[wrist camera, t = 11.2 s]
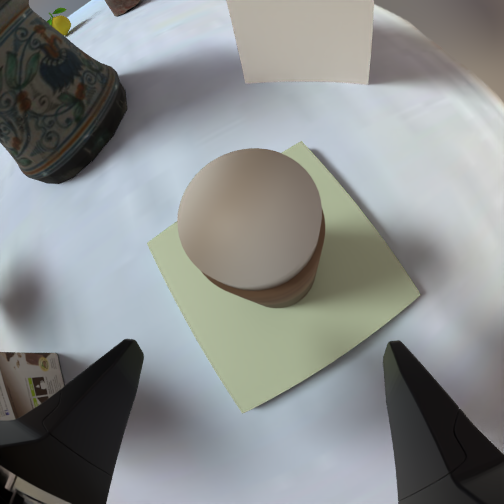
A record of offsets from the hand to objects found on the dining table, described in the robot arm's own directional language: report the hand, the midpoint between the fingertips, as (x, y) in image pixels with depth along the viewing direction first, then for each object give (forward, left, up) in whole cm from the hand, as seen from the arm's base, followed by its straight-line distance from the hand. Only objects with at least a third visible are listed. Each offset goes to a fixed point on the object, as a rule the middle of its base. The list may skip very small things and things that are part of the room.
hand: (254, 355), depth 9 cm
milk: (+22, -18, -10) cm, 30 cm away
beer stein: (+33, +10, -10) cm, 36 cm away
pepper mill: (+4, -2, -9) cm, 10 cm away
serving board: (+4, -2, -10) cm, 11 cm away
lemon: (+83, +8, -10) cm, 84 cm away
